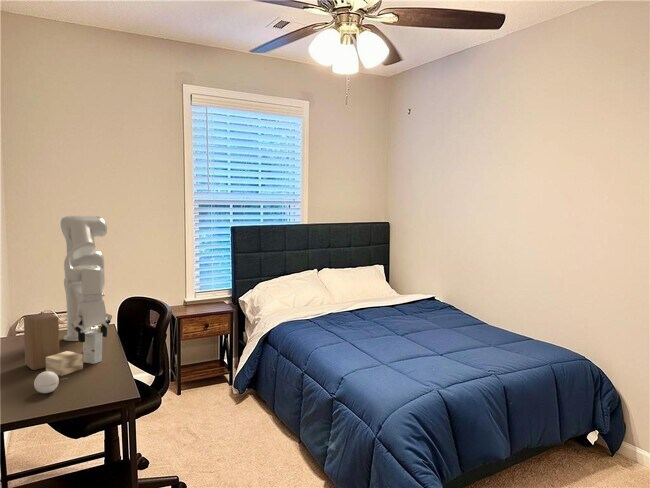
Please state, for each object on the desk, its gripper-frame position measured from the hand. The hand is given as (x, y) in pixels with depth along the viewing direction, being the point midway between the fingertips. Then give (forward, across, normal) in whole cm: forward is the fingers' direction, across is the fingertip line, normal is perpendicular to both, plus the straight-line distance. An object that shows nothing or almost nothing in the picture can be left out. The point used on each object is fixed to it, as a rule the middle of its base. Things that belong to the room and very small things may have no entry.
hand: (93, 339), depth 188 cm
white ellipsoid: (+10, +27, +16) cm, 33 cm away
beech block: (+10, +12, -1) cm, 15 cm away
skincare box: (+10, 0, -1) cm, 10 cm away
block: (+10, +13, -14) cm, 21 cm away
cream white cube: (+10, -8, -12) cm, 17 cm away
